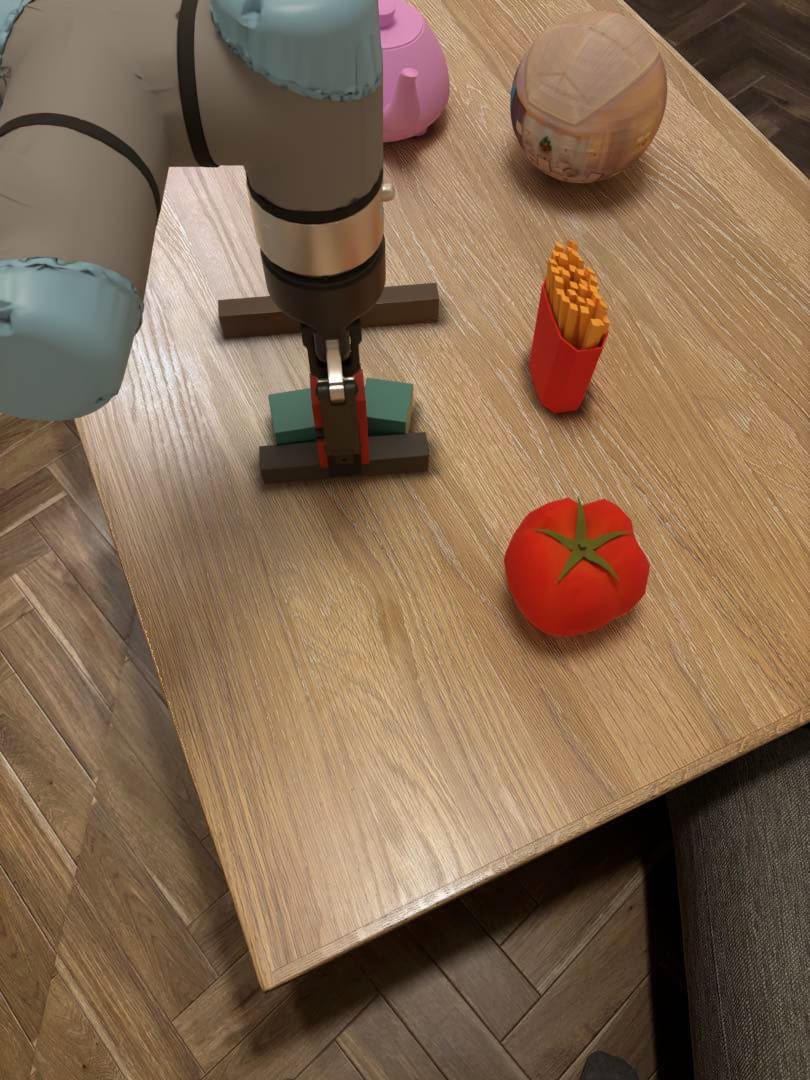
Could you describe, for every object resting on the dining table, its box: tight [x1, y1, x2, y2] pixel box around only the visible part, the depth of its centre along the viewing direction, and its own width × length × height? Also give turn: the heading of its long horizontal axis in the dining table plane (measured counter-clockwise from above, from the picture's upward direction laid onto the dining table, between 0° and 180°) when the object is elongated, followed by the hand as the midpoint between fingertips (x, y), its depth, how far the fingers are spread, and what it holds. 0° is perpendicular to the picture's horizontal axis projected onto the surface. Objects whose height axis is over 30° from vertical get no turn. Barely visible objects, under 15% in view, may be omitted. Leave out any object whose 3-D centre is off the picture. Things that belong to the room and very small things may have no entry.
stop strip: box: [217, 282, 440, 340], centre depth 80 cm, size 2×20×3 cm, turn 97°
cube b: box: [364, 377, 414, 437], centre depth 74 cm, size 4×4×4 cm
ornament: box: [509, 10, 668, 184], centre depth 84 cm, size 15×15×15 cm
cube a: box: [267, 387, 316, 445], centre depth 73 cm, size 4×4×4 cm
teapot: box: [378, 0, 451, 143], centre depth 89 cm, size 20×14×12 cm
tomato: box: [503, 496, 651, 638], centre depth 65 cm, size 11×11×9 cm
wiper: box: [258, 368, 430, 486], centre depth 69 cm, size 3×14×11 cm, turn 96°
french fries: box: [528, 238, 611, 414], centre depth 72 cm, size 9×4×13 cm, turn 11°
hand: (344, 452), depth 72 cm, fingers closed on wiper, 3 cm apart
